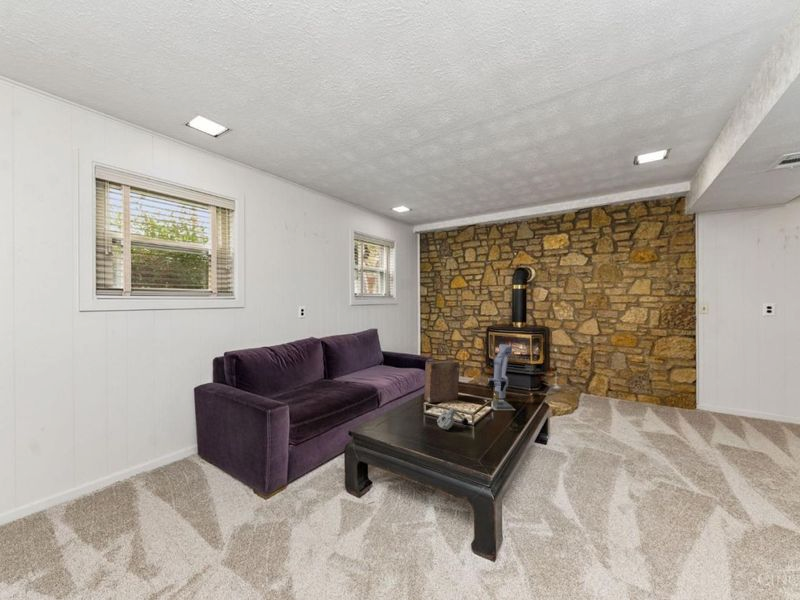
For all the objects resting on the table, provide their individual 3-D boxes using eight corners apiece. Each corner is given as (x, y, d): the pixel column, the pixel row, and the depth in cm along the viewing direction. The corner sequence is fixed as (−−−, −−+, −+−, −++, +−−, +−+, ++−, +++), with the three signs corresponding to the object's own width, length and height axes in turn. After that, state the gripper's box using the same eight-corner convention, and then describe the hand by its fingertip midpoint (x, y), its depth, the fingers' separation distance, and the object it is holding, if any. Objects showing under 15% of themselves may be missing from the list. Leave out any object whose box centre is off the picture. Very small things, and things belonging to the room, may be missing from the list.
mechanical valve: (433, 421, 211) (448, 402, 214) (450, 435, 218) (463, 416, 221) (442, 429, 202) (457, 409, 205) (459, 443, 209) (473, 424, 212)
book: (451, 396, 271) (453, 359, 270) (458, 399, 263) (459, 361, 262) (424, 399, 261) (425, 361, 260) (429, 403, 252) (431, 363, 251)
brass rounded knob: (492, 401, 261) (492, 390, 261) (497, 401, 261) (497, 390, 261) (494, 402, 257) (494, 392, 257) (499, 402, 257) (499, 392, 257)
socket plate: (483, 400, 263) (483, 397, 263) (503, 400, 265) (503, 397, 265) (494, 411, 241) (494, 407, 241) (515, 411, 243) (515, 407, 243)
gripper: (490, 373, 254) (489, 391, 253) (509, 374, 256) (508, 392, 255) (487, 372, 261) (486, 389, 260) (505, 372, 263) (504, 390, 262)
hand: (496, 391), depth 258 cm, fingers open, 7 cm apart
